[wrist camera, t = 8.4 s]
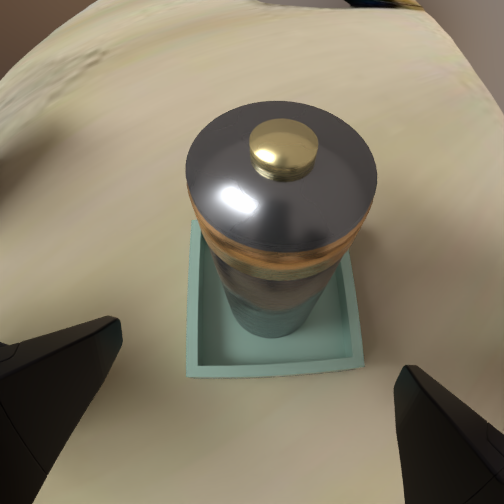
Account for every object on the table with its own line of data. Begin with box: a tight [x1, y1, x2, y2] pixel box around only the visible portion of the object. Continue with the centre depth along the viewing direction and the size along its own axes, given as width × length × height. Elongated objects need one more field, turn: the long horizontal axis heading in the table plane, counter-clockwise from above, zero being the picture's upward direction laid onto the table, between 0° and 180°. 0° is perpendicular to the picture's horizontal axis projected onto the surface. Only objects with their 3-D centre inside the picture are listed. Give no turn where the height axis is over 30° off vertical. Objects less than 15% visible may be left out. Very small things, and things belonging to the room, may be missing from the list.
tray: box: [186, 220, 365, 379], centre depth 17 cm, size 9×9×2 cm
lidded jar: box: [186, 101, 377, 339], centre depth 12 cm, size 5×5×12 cm
